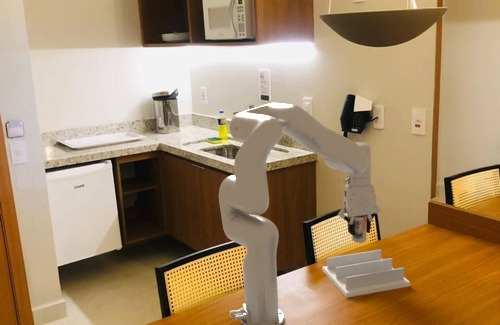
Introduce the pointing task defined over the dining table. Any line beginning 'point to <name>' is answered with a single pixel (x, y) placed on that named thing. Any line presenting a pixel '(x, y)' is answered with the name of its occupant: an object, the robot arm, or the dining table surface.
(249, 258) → the robot arm
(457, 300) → the dining table surface
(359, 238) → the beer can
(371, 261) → the drying rack
